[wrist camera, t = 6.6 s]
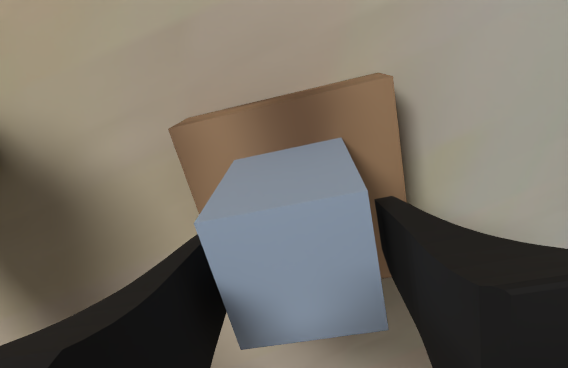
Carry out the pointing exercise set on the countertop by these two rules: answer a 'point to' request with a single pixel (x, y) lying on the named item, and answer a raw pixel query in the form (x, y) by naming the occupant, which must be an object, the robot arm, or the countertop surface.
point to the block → (294, 247)
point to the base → (301, 137)
